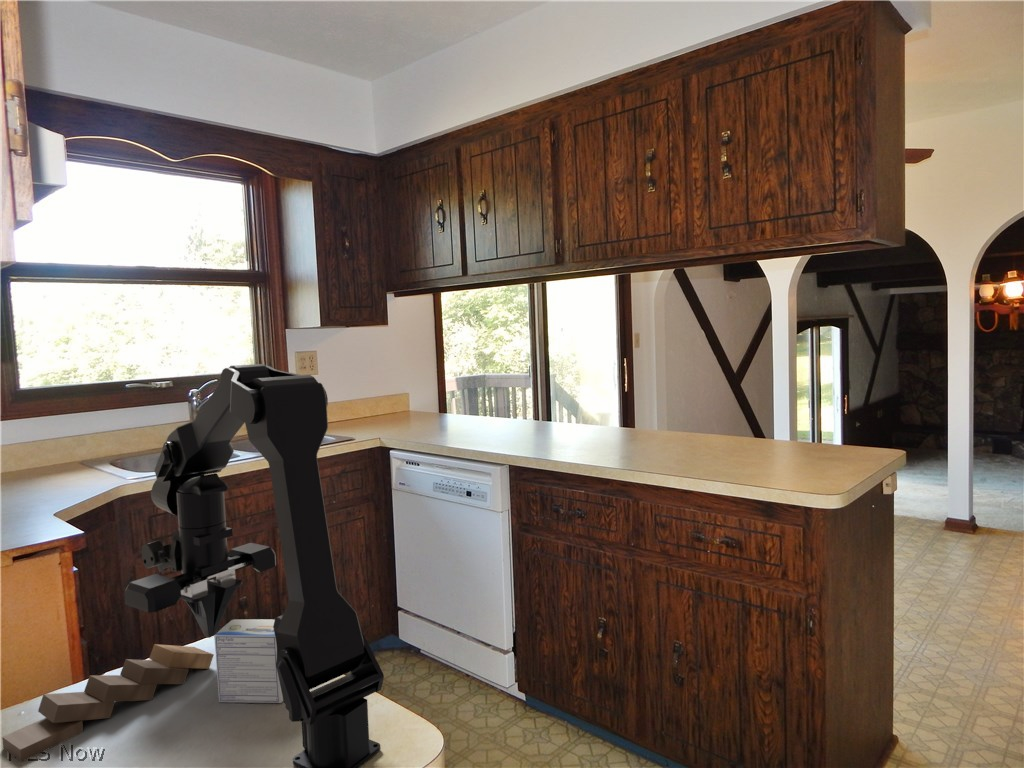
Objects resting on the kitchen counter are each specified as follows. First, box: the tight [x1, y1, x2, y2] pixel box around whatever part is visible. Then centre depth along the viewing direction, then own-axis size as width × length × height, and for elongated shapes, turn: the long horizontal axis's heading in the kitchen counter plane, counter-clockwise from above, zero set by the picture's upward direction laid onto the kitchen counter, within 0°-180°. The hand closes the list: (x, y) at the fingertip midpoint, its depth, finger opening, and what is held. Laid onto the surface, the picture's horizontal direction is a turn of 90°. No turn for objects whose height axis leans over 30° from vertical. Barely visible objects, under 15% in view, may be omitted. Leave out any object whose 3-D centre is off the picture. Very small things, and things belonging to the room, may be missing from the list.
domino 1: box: [1, 717, 84, 763], centre depth 73 cm, size 2×4×6 cm
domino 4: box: [119, 658, 190, 685], centre depth 84 cm, size 2×4×6 cm
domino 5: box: [148, 643, 215, 669], centre depth 88 cm, size 2×4×6 cm
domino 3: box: [83, 674, 158, 702], centre depth 80 cm, size 2×4×6 cm
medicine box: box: [213, 618, 284, 704], centre depth 81 cm, size 8×4×9 cm, turn 85°
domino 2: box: [37, 691, 116, 723], centre depth 76 cm, size 2×4×6 cm
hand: (209, 636), depth 90 cm, fingers closed
